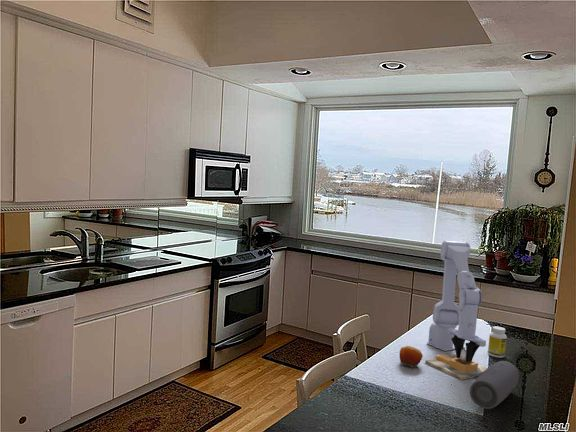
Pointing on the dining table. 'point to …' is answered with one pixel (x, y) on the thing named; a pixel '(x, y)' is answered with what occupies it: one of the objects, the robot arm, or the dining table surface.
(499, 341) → the pill bottle
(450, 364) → the bracket
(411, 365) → the fruit
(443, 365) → the rosette board
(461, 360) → the pin
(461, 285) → the robot arm
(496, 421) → the dining table surface
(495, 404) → the bluetooth speaker
